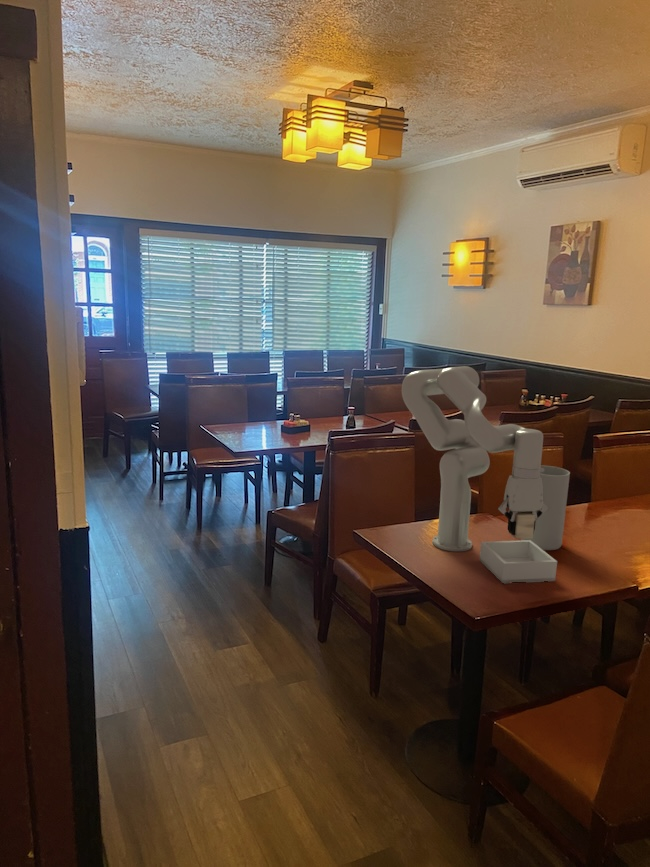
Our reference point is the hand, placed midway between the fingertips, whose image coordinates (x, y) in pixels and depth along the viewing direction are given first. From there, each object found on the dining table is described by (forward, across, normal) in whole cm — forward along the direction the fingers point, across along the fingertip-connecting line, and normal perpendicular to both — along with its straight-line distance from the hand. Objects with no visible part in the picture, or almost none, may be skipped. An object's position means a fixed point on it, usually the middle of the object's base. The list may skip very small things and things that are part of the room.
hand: (520, 532), depth 182 cm
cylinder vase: (+12, -18, -19) cm, 29 cm away
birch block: (+1, 0, 0) cm, 1 cm away
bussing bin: (+12, 0, 0) cm, 12 cm away
